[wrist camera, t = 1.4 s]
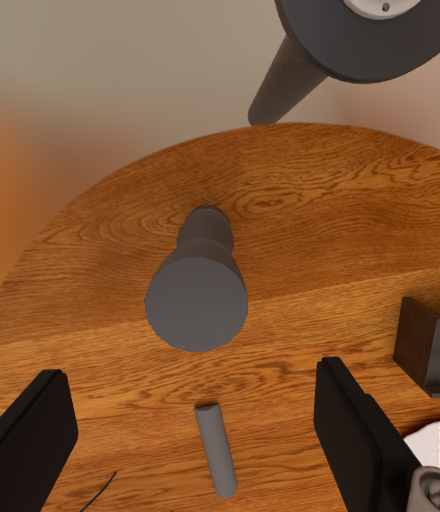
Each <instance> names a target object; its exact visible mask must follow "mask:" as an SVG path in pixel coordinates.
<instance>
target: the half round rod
mask: <svg viewBox="0 0 440 512" xmlns="http://www.w3.org/2000/svg"><path fill="white" fill-rule="evenodd" d="M194 410H195V414H196V418H197V422H198V425H199V429H200V433H201V437H202V441H203V445H204V449H205V453H206V456H207V460H208V464H209V468H210V472H211V476H212V480H213V484H214V487H215V490H216V493H217V494H218V495H219V496H220V497H222V498H228V497H231V496H232V495H233V494H234V493H235V492H236V489H237V481H236V476H235V472H234V467H233V463H232V459H231V454H230V450H229V446H228V441H227V437H226V432H225V428H224V424H223V419H222V415H221V410H220V406H219V405H211V406H205V407H199V408H195V409H194Z"/></svg>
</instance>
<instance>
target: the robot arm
mask: <svg viewBox="0 0 440 512" xmlns="http://www.w3.org/2000/svg"><path fill="white" fill-rule="evenodd" d="M343 1H344V3H345V4H346V5H347V6H348V7H349V8H350V9H351V10H352V11H354V12H355V13H357V14H359V15H361V16H362V17H366V18H369V19H374V20H384V19H390V18H394V17H396V16H399V15H401V14H404V13H405V12H407V11H408V10H410V9H411V8H413V7H414V6H415V5H416V4H417V3H418V2H420V1H421V0H343ZM314 427H315V431H316V433H317V436H318V438H319V441H320V443H321V446H322V448H323V451H324V453H325V456H326V458H327V461H328V463H329V466H330V468H331V471H332V473H333V476H334V478H335V480H336V483H337V485H338V488H339V490H340V493H341V495H342V498H343V500H344V503H345V505H346V508H347V510H348V512H440V468H439V467H435V466H422V464H421V463H420V461H419V460H418V459H417V457H416V456H415V455H414V453H413V452H412V450H411V449H410V448H409V446H408V445H407V444H406V442H405V441H404V439H403V438H402V437H401V435H400V434H399V433H398V431H397V430H396V428H395V427H394V426H393V424H392V423H391V422H390V420H389V419H388V417H387V416H386V415H385V413H384V412H383V411H382V409H381V408H380V406H379V405H378V404H377V402H376V401H375V400H374V398H373V397H372V396H371V395H369V394H365V393H364V392H363V390H362V389H361V387H360V386H359V384H358V383H357V382H356V380H355V379H354V377H353V376H352V374H351V373H350V372H349V370H348V369H347V367H346V366H345V364H344V363H343V362H342V360H341V359H340V358H339V357H323V358H322V360H321V361H320V362H317V371H316V387H315V403H314ZM77 439H78V427H77V422H76V417H75V412H74V407H73V403H72V398H71V393H70V388H69V384H68V379H67V375H66V374H65V373H63V372H62V371H61V370H60V369H52V370H42V371H41V372H40V373H39V374H38V375H37V376H36V378H35V379H34V380H33V381H32V382H31V383H30V384H29V385H28V387H27V388H26V389H25V390H24V391H23V392H22V393H21V394H20V395H19V397H18V398H17V399H16V400H15V401H14V402H13V403H12V404H11V405H10V407H9V408H8V409H7V410H6V411H5V412H4V413H3V414H2V416H1V417H0V512H40V511H41V509H42V507H43V505H44V503H45V502H46V500H47V498H48V496H49V494H50V492H51V490H52V488H53V486H54V484H55V482H56V480H57V479H58V477H59V475H60V473H61V471H62V469H63V467H64V465H65V463H66V461H67V459H68V457H69V456H70V454H71V452H72V450H73V448H74V446H75V444H76V442H77Z"/></svg>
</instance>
